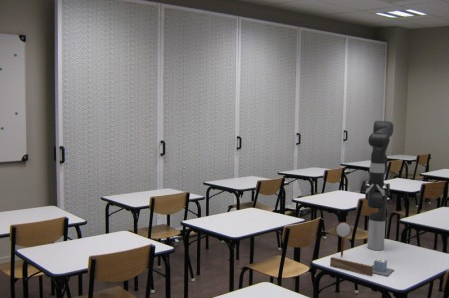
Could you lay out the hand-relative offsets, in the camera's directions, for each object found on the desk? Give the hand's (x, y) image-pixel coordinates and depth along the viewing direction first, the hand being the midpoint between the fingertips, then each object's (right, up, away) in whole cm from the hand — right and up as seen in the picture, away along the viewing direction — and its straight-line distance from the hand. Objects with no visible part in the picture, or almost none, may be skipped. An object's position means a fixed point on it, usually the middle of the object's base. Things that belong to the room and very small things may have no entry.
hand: (375, 201), depth 264 cm
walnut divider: (-16, -34, -12) cm, 40 cm away
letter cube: (-1, -34, -12) cm, 36 cm away
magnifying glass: (-16, -32, +8) cm, 37 cm away
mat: (-1, -35, -12) cm, 37 cm away
